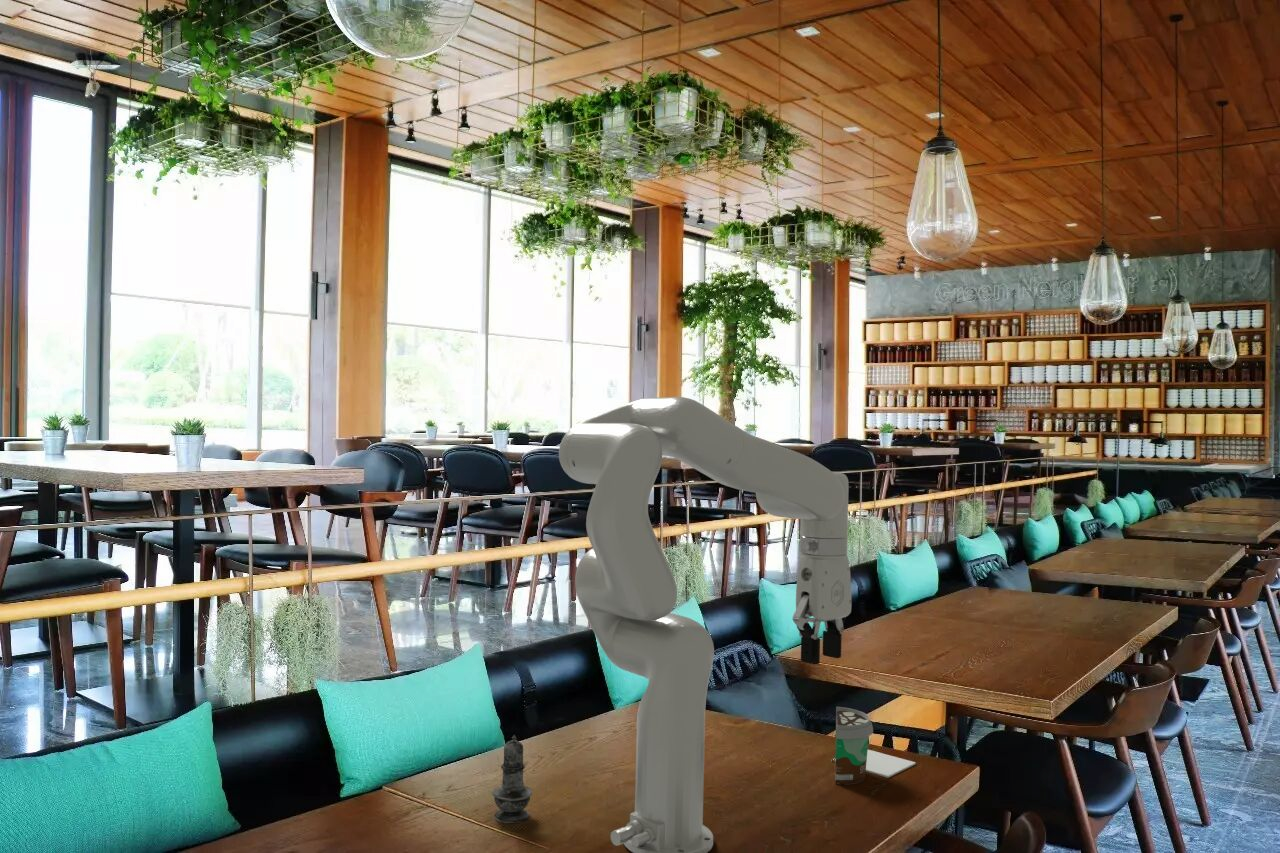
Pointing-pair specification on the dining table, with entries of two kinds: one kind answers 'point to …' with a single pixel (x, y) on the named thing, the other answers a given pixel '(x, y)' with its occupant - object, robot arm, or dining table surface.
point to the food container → (851, 745)
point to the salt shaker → (512, 786)
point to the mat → (885, 764)
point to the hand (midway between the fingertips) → (821, 658)
